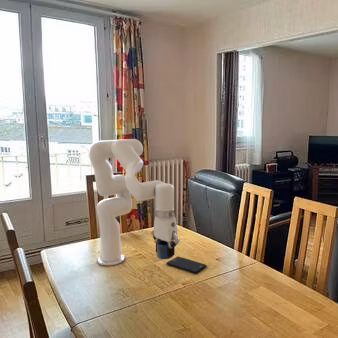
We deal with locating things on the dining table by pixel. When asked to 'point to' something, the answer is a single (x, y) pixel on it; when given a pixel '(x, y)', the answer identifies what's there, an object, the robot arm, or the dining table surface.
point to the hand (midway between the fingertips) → (165, 253)
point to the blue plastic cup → (163, 249)
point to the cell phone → (186, 264)
